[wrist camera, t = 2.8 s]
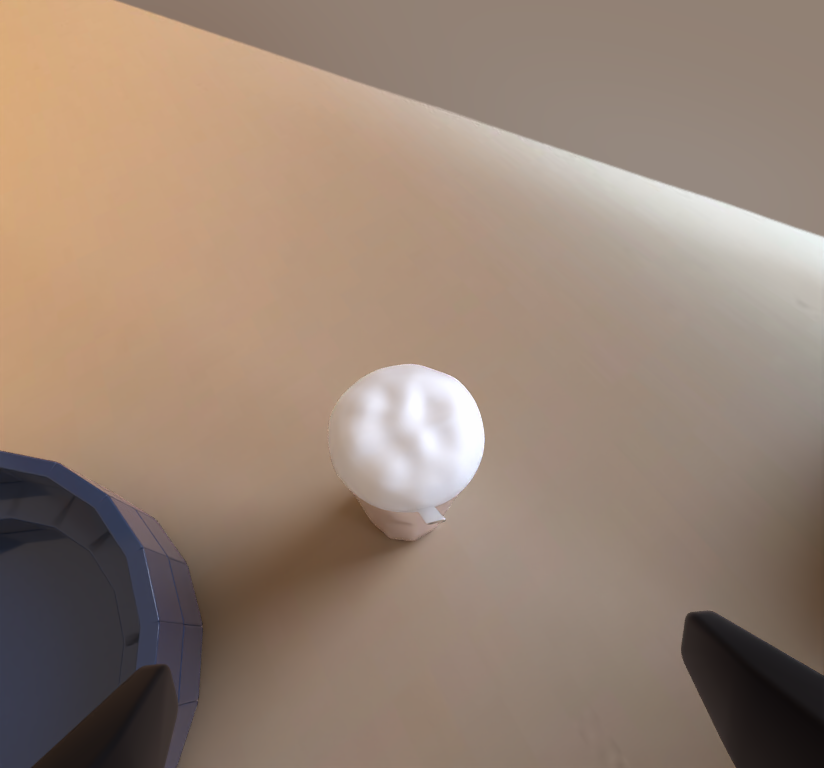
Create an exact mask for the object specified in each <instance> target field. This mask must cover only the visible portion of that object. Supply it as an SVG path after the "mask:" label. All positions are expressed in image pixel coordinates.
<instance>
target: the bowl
mask: <svg viewBox="0 0 824 768" xmlns="http://www.w3.org/2000/svg"><path fill="white" fill-rule="evenodd" d="M202 625H203V623H202V619H201V615H200V611H199V607H198V603H197V599H196V595H195V591H194V587H193V583H192V580H191V576H190V572H189V568H188V566H187V563H186V561H185V560H184V558H183V557H182V556H181V554H180V553H179V551H178V550H177V548H176V547H175V546H174V544H173V543H172V541H171V540H170V538H169V537H168V536H167V534H166V533H165V531H164V530H163V528H162V527H161V525H160V524H159V523H158V521H157V520H155V518H153V517H152V516H150V515H149V514H147V513H146V512H144V511H142V510H141V509H139V508H138V507H136V506H135V505H133V504H131V503H130V502H128V501H127V500H125V499H124V498H122V497H121V496H119V495H117V494H116V493H114V492H113V491H111V490H109V489H107V488H105V487H103V486H101V485H100V484H98V483H96V482H94V481H92V480H90V479H88V478H86V477H85V476H83V475H81V474H79V473H77V472H75V471H73V470H72V469H70V468H68V467H66V466H64V465H62V464H60V463H58V462H55V461H50V460H45V459H40V458H35V457H30V456H25V455H20V454H15V453H10V452H5V451H0V768H31V767H32V766H33V765H34V764H35V763H37V762H38V761H39V760H40V759H41V758H42V757H43V756H44V755H45V754H46V753H47V752H48V751H50V750H51V749H52V748H53V747H54V746H55V745H56V744H57V743H58V742H59V741H60V740H62V739H63V738H64V737H65V736H66V735H67V734H68V733H69V732H70V731H71V730H72V729H73V728H75V727H76V726H77V725H78V724H79V723H80V722H81V721H82V720H83V719H84V718H85V717H87V716H88V715H89V714H90V713H91V712H92V711H93V710H94V709H95V708H96V707H97V706H98V705H100V704H101V703H102V702H103V701H104V700H105V699H106V698H107V697H108V696H109V695H110V694H112V693H113V692H114V691H115V690H116V689H117V688H118V687H119V686H120V685H121V684H122V683H123V682H125V681H126V680H127V679H128V678H129V677H130V676H131V675H132V674H133V673H134V672H135V671H137V670H138V669H139V668H141V667H143V666H146V665H156V664H166V665H168V666H169V668H170V670H171V674H172V678H173V682H174V686H175V690H176V694H177V698H178V714H177V719H176V723H175V727H174V731H173V735H172V739H171V743H170V747H169V751H168V755H167V759H166V763H165V767H164V768H177V765H178V762H179V759H180V756H181V753H182V750H183V747H184V744H185V741H186V738H187V735H188V732H189V729H190V726H191V723H192V720H193V717H194V714H195V711H196V708H197V705H198V701H197V700H198V698H199V687H200V670H201V653H202V636H203V628H202V627H201V626H202Z"/></svg>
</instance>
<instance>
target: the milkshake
mask: <svg viewBox="0 0 824 768" xmlns="http://www.w3.org/2000/svg"><path fill="white" fill-rule="evenodd" d="M484 443H485V436H484V428H483V423H482V419H481V415H480V412H479V409H478V407H477V404H476V402H475V400H474V399H473V397H472V396H471V394H470V393H469V391H468V390H467V389H466V388H465V387H464V386H463V385H462V384H461V383H460V382H459V381H458V380H457V379H455V378H454V377H452V376H450V375H448V374H445V373H443V372H440V371H437V370H434V369H431V368H428V367H425V366H422V365H417V364H402V365H395V366H390V367H385V368H382V369H378V370H376V371H373V372H371V373H369V374H367V375H365V376H364V377H362V378H361V379H359V380H358V381H357V382H355V383H354V384H353V385H352V386H351V387H350V388H349V389H347V390H346V391H345V392H344V393H343V395H342V396H341V397H340V398H339V399H338V401H337V402H336V404H335V406H334V408H333V410H332V413H331V416H330V419H329V424H328V446H329V452H330V457H331V461H332V464H333V467H334V469H335V471H336V473H337V475H338V476H339V478H340V479H341V480H342V482H343V483H344V484H345V485H346V486H347V487H348V489H349V490H350V491H351V492H352V493H353V495H354V496H355V497H356V498H357V500H358V501H359V503H360V505H361V506H362V508H363V509H364V511H365V512H366V514H367V516H368V517H369V519H370V520H371V522H372V523H373V524H374V525H376V526H377V527H378V528H379V529H380V530H381V531H382V532H383V533H384V534H385V535H386V536H388V537H389V538H390V539H398V540H408V541H415V540H417V539H419V538H420V537H422V536H423V535H425V534H427V533H428V532H430V531H432V530H433V529H435V528H436V527H437V525H438V524H439V523H440V522H444V521H446V519H445V518H444V515H445V513H446V512H447V510H448V509H449V507H450V506H451V504H452V503H453V501H454V500H455V499H456V498H457V496H458V495H459V494H460V493H461V492H462V490H463V489H464V488H465V487H466V486H467V485H468V484H469V482H470V481H471V479H472V478H473V476H474V475H475V473H476V471H477V469H478V467H479V464H480V462H481V459H482V455H483V450H484Z"/></svg>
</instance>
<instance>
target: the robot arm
mask: <svg viewBox="0 0 824 768" xmlns="http://www.w3.org/2000/svg"><path fill="white" fill-rule="evenodd" d="M681 653H682V658H683V661H684V664H685V666H686V668H687V670H688V672H689V674H690V676H691V678H692V680H693V682H694V684H695V687H696V689H697V691H698V693H699V695H700V697H701V699H702V701H703V703H704V705H705V707H706V709H707V711H708V713H709V715H710V717H711V719H712V722H713V724H714V726H715V728H716V730H717V732H718V734H719V736H720V738H721V740H722V742H723V744H724V746H725V748H726V750H727V752H728V754H729V756H730V757H731V759H732V761H733V763H734V764H735V766H736V768H824V676H823V675H822V674H820V673H818V672H816V671H815V670H813V669H811V668H810V667H808V666H806V665H804V664H803V663H801V662H799V661H798V660H796V659H794V658H792V657H791V656H789V655H787V654H785V653H784V652H782V651H780V650H779V649H777V648H775V647H773V646H772V645H770V644H768V643H767V642H765V641H763V640H761V639H760V638H758V637H756V636H755V635H753V634H751V633H749V632H748V631H746V630H744V629H743V628H741V627H739V626H737V625H736V624H734V623H732V622H731V621H729V620H727V619H725V618H724V617H722V616H720V615H719V614H717V613H715V612H712V611H698V612H690V613H688V614H687V616H686V618H685V624H684V631H683V638H682V646H681ZM177 714H178V698H177V694H176V690H175V686H174V682H173V678H172V674H171V670H170V668H169V666H168V665H166V664H156V665H146V666H143V667H141V668H139V669H138V670H137V671H135V672H134V673H133V674H132V675H131V676H130V677H129V678H128V679H127V680H126V681H125V682H123V683H122V684H121V685H120V686H119V687H118V688H117V689H116V690H115V691H114V692H113V693H112V694H110V695H109V696H108V697H107V698H106V699H105V700H104V701H103V702H102V703H101V704H100V705H98V706H97V707H96V708H95V709H94V710H93V711H92V712H91V713H90V714H89V715H88V716H87V717H85V718H84V719H83V720H82V721H81V722H80V723H79V724H78V725H77V726H76V727H75V728H73V729H72V730H71V731H70V732H69V733H68V734H67V735H66V736H65V737H64V738H63V739H62V740H60V741H59V742H58V743H57V744H56V745H55V746H54V747H53V748H52V749H51V750H50V751H48V752H47V753H46V754H45V755H44V756H43V757H42V758H41V759H40V760H39V761H38V762H37V763H35V764H34V765H33V766H32V767H31V768H164V767H165V763H166V759H167V755H168V751H169V747H170V743H171V739H172V735H173V731H174V727H175V723H176V719H177Z"/></svg>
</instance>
